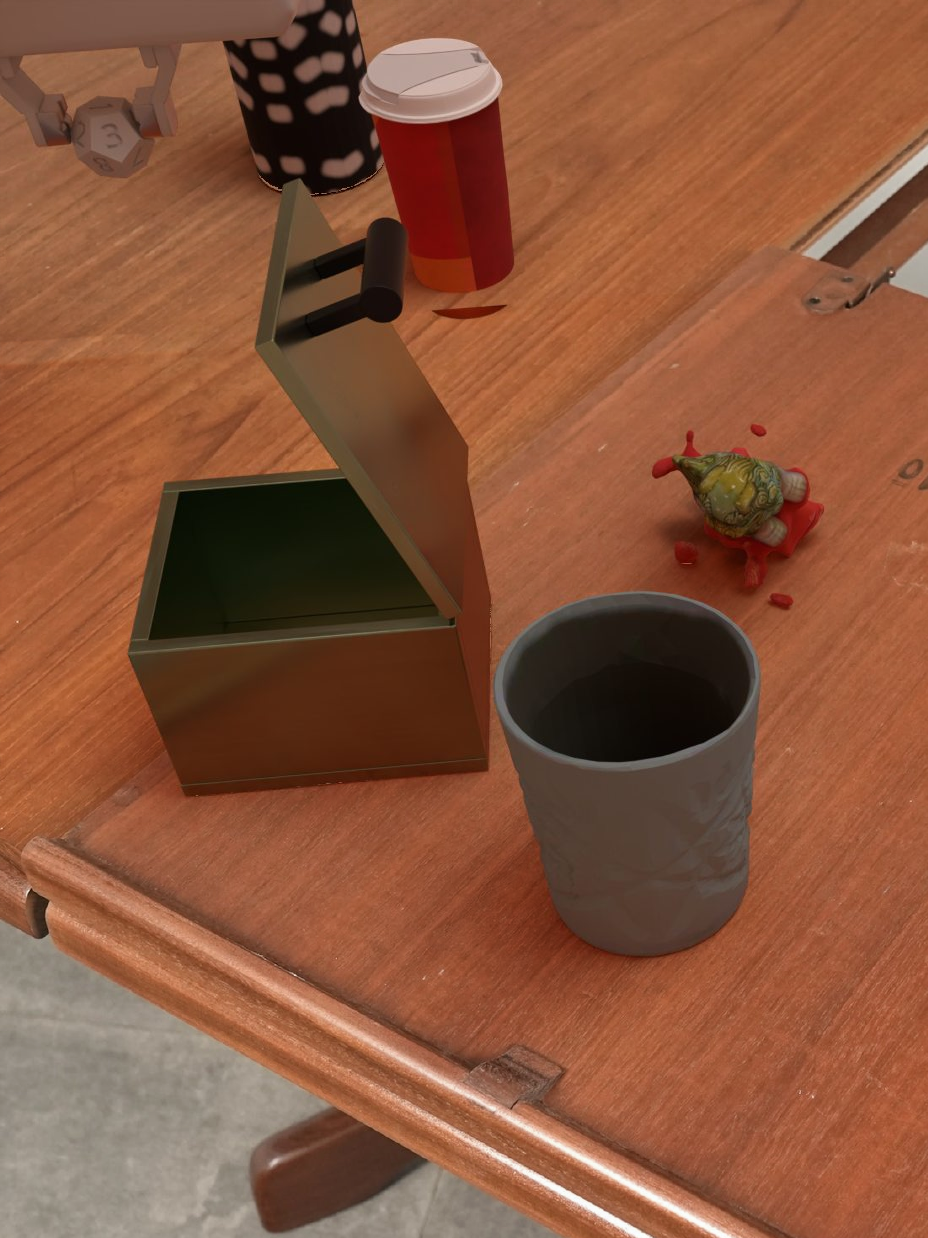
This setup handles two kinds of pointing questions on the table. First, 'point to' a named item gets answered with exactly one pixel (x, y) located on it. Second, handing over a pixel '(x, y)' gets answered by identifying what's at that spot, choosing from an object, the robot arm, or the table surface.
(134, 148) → the game die
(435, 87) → the paper cup
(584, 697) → the grey cup
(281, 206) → the lid
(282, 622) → the bin
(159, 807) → the table surface
